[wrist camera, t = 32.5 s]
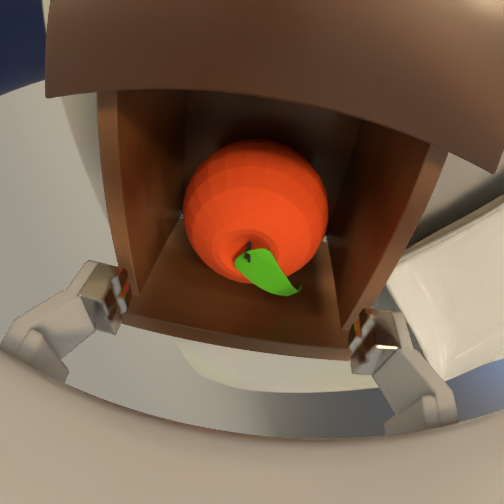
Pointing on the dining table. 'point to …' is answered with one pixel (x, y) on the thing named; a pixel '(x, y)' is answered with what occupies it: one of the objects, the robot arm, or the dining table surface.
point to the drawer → (310, 275)
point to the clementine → (256, 213)
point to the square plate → (456, 291)
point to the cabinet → (301, 58)
